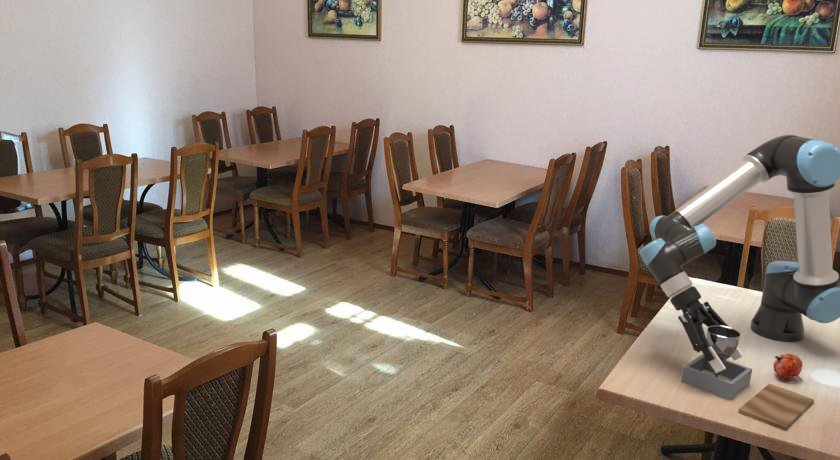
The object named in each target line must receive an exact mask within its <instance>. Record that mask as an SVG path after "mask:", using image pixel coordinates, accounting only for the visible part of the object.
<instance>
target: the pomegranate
mask: <svg viewBox="0 0 840 460" xmlns="http://www.w3.org/2000/svg"><path fill="white" fill-rule="evenodd" d="M774 359H775V361H773V371H774V373H775V375H776V376H777V377H778V378H779V379H780V380H782V381H784V382H791V381H793V379H794V378H798V379H799V380H800V381H803V379H802V378H801V377H800V375H801V372H802V369H803V361H802V360H801V358H800V357H798V355H796V354H791V353H786V354H781V355H780V356H778V355H775V356H774Z"/></svg>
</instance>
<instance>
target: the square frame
mask: <svg viewBox="0 0 840 460" xmlns="http://www.w3.org/2000/svg"><path fill="white" fill-rule="evenodd" d="M723 365H724V366H725V368H726V369H724V370H722V371H720V372H719V374H718V377H716V376H715V375H712V374H715V371H714V369H713V368H712V366H711V365H710V363H709V362H708V360H707V359H706V357H705V356H704V354H703V353H702V354H700V355H699V356H697V357H696V358H694V359H693V360H691V361H689V362H688V363H686V364H685V365H684V366H682V371H681V372H682V373H681V378H680V379H681V381H680V382H681V383H683V384H686V385H688V386H691V387H693V388H696V389H698V390H702V391H705V392H707V393H709V394H712V395H715V396H717V397H719V398H720V397H721V398H723V399H725V400H727V401H731V400H733V398H735V396H737V395H738V394H739V393H741V392H742V391H743V390H745V389H746V388H747V387H748V386H750V384H751V379H752V374H753V368H751V367H747V366H745V365H742V364H739V363H736V362H733V361H730V360H728V359H727V360H725V361H724V362H723ZM704 371H706V372H704ZM707 372H708V373H707ZM710 373H712V374H710ZM719 376H720V377H719ZM721 377H723V378H721ZM724 378H726V379H729V380H730V381H729V380H726V379H724Z"/></svg>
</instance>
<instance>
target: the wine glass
mask: <svg viewBox="0 0 840 460" xmlns="http://www.w3.org/2000/svg"><path fill="white" fill-rule="evenodd" d="M706 329H707V330H706V335H705V336H706V340H707V343H708V346H709V347H710V346H711V347H712V348H713V350H714V351H715V353H716V354H717V356H718V357H719V359H720V360H721V362H722V363H723V362H724V361H725V360H727V361H728V359H730V358H732V357H731V356H732V355H733V354H734V353H735V351H736V349H737V347H738V346H739V342H740V339H741V333H740V331H738V330H737V329H735V328H733V327H731V326H729V327H726V326H720V325H713V326H709V327H707V328H706ZM718 374H719V372H718V373H716V372H715V373H714V376H716V377H718V378H719V375H718Z"/></svg>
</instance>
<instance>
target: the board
mask: <svg viewBox="0 0 840 460" xmlns="http://www.w3.org/2000/svg"><path fill="white" fill-rule="evenodd" d="M814 402H815V399H814V398H811V397H809V396H806V395H803V394H800V393H797V392H795V391H792V390H790V389H789V390H788V389H786V388H783V387H780V386H779V385H778V386H777V385H774V384H772V383H768V384H767V385H766V386H765V387H763V388H762V389H761V390H760V391H759V392H757V393H756V394H755V395H754V396H752V397H751V398H750V399H749V400H748V401H747V402H745V403H744V404H743V405H742V406H741V407H739V408H738V412H737V413H738V414H741V415H744V416H746V417H749V418H751V419H753V420H754V419H755V420H756V421H759V422H762V423H764V424H767V425H769V426H772V427H774V428H778V429H780V430H782V431H786V430H788V429H789V427H791V426H792V425H793V424H794V423H795V422H796V421H797V419H799V418H800V416H802V415H803V414H804V413H805V412H806V411H807V410H808V409H809V408H810V407H811V406H812V405H813V404H814Z"/></svg>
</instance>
